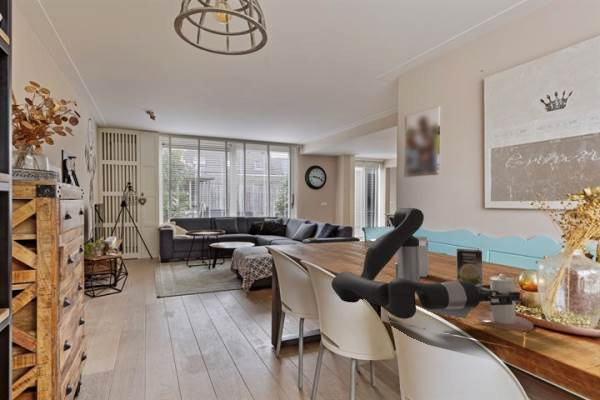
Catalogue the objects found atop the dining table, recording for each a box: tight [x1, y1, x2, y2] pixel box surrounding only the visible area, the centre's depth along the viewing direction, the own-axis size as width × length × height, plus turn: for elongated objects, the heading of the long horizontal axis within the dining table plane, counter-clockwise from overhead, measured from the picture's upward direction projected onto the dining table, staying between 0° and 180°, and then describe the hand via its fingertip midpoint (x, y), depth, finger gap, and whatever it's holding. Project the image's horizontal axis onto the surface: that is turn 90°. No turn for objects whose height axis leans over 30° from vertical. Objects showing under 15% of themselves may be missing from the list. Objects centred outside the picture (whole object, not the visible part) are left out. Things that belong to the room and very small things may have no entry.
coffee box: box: [456, 248, 483, 284], centre depth 129 cm, size 9×6×16 cm
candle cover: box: [489, 273, 517, 324], centre depth 92 cm, size 6×6×13 cm
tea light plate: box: [475, 311, 534, 333], centre depth 92 cm, size 14×14×3 cm
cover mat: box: [427, 308, 472, 319], centre depth 103 cm, size 11×11×1 cm
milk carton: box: [413, 235, 430, 278], centre depth 156 cm, size 7×7×19 cm
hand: (507, 292), depth 92 cm, fingers open, 8 cm apart
